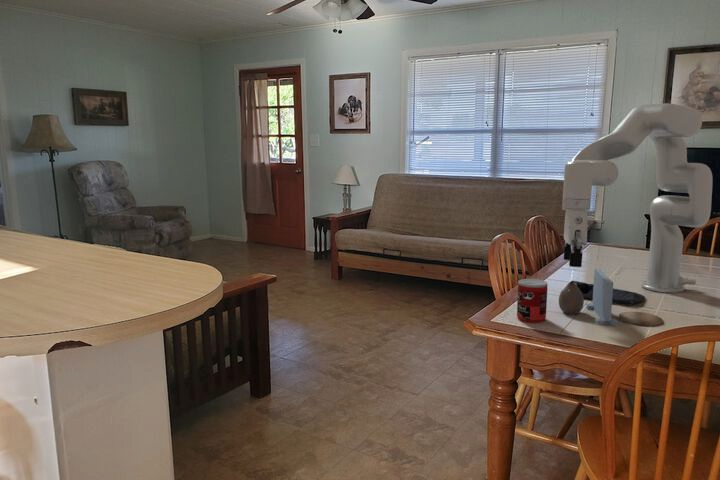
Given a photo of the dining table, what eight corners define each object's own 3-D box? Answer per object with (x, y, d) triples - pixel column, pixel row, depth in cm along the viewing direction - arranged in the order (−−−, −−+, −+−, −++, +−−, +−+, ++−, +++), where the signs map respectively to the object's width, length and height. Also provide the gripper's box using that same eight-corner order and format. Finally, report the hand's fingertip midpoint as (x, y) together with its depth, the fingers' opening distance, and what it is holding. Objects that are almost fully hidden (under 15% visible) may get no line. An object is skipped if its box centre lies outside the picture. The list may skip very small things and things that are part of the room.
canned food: (512, 315, 158) (514, 278, 156) (539, 314, 159) (540, 277, 157) (522, 324, 151) (524, 285, 149) (550, 322, 151) (552, 284, 149)
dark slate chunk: (632, 310, 162) (633, 295, 161) (561, 297, 177) (562, 283, 177) (649, 299, 173) (650, 285, 172) (581, 287, 188) (581, 274, 187)
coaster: (655, 314, 157) (655, 312, 157) (668, 327, 146) (668, 325, 146) (614, 312, 159) (614, 310, 159) (624, 325, 148) (624, 322, 148)
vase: (585, 316, 156) (587, 287, 154) (560, 315, 157) (561, 286, 156) (580, 309, 163) (582, 281, 161) (556, 308, 164) (557, 280, 162)
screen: (603, 307, 164) (606, 269, 162) (617, 325, 148) (620, 282, 146) (586, 307, 165) (588, 268, 163) (597, 324, 149) (600, 282, 147)
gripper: (597, 208, 145) (592, 270, 148) (584, 202, 162) (580, 257, 165) (567, 207, 147) (563, 269, 149) (557, 201, 163) (554, 256, 166)
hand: (572, 263), depth 157 cm, fingers open, 9 cm apart
